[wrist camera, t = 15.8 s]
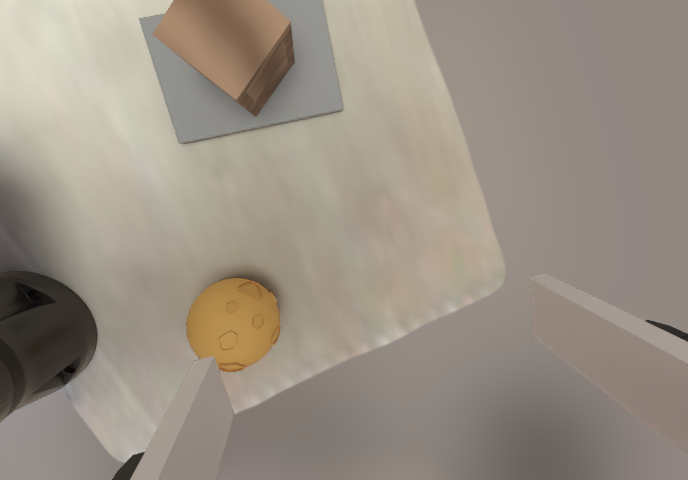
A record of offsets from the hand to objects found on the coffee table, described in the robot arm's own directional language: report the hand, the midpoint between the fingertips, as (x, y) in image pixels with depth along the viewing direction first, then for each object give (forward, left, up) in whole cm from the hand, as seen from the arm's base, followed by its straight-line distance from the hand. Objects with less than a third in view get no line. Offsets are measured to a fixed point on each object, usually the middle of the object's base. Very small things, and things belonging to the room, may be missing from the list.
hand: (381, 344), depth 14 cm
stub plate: (-5, +18, -29) cm, 34 cm away
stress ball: (-13, -8, -29) cm, 33 cm away
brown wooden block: (-5, +18, -27) cm, 33 cm away
